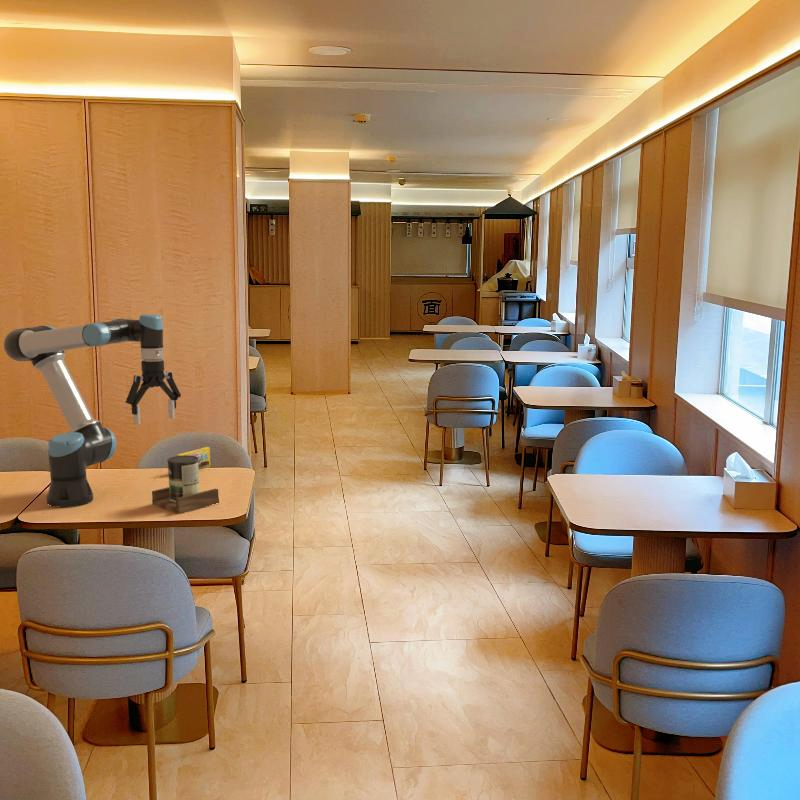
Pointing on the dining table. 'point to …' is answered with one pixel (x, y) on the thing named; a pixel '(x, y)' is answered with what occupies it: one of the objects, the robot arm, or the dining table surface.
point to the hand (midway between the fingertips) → (154, 420)
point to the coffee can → (183, 476)
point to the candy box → (200, 456)
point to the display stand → (184, 500)
